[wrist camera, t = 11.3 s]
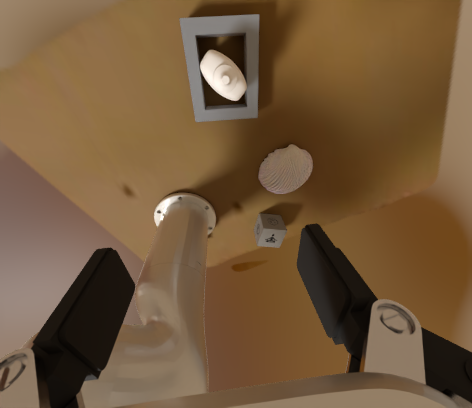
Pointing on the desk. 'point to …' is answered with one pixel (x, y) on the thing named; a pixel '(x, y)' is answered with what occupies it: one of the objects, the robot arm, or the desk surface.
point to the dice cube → (269, 230)
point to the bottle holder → (250, 30)
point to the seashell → (285, 169)
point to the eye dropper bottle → (223, 75)
